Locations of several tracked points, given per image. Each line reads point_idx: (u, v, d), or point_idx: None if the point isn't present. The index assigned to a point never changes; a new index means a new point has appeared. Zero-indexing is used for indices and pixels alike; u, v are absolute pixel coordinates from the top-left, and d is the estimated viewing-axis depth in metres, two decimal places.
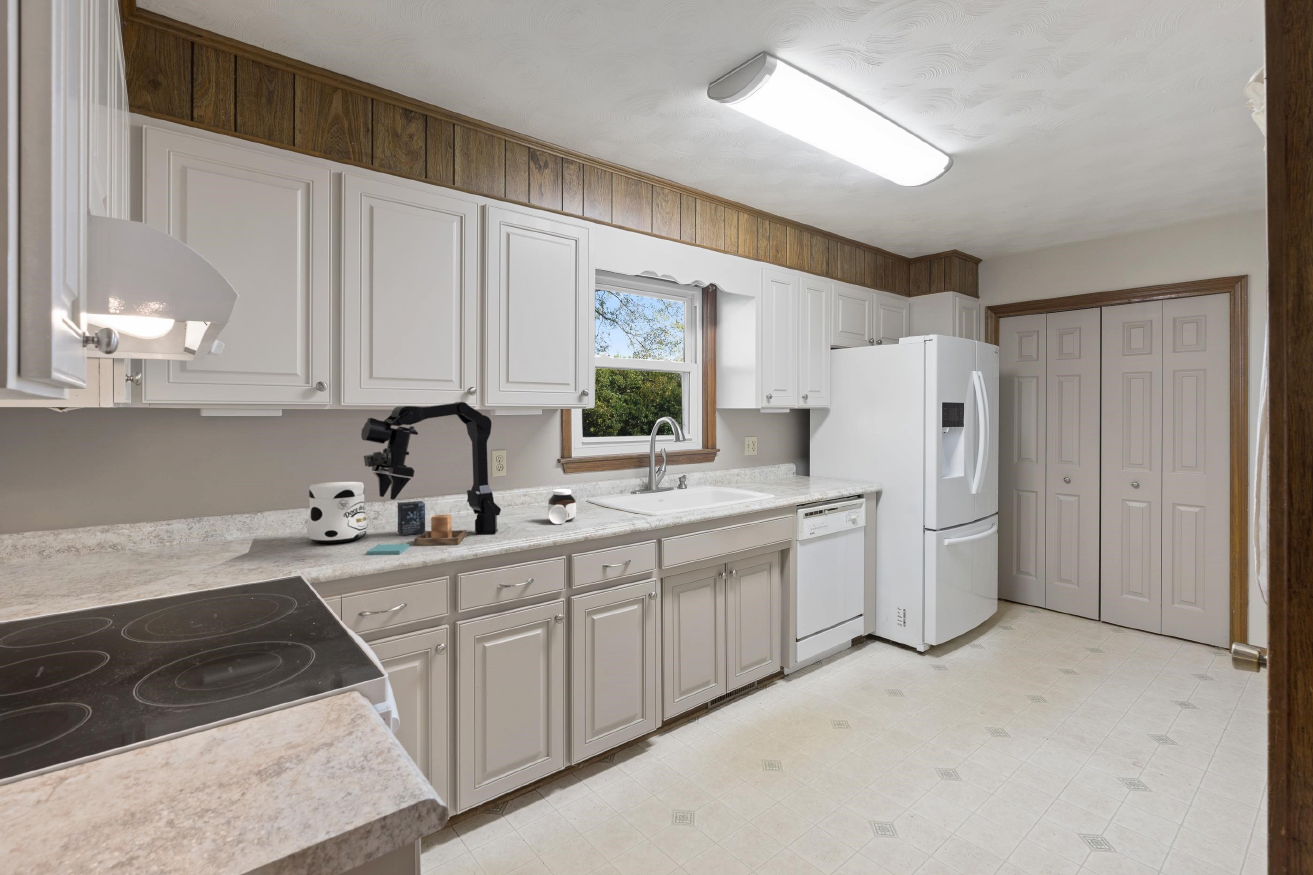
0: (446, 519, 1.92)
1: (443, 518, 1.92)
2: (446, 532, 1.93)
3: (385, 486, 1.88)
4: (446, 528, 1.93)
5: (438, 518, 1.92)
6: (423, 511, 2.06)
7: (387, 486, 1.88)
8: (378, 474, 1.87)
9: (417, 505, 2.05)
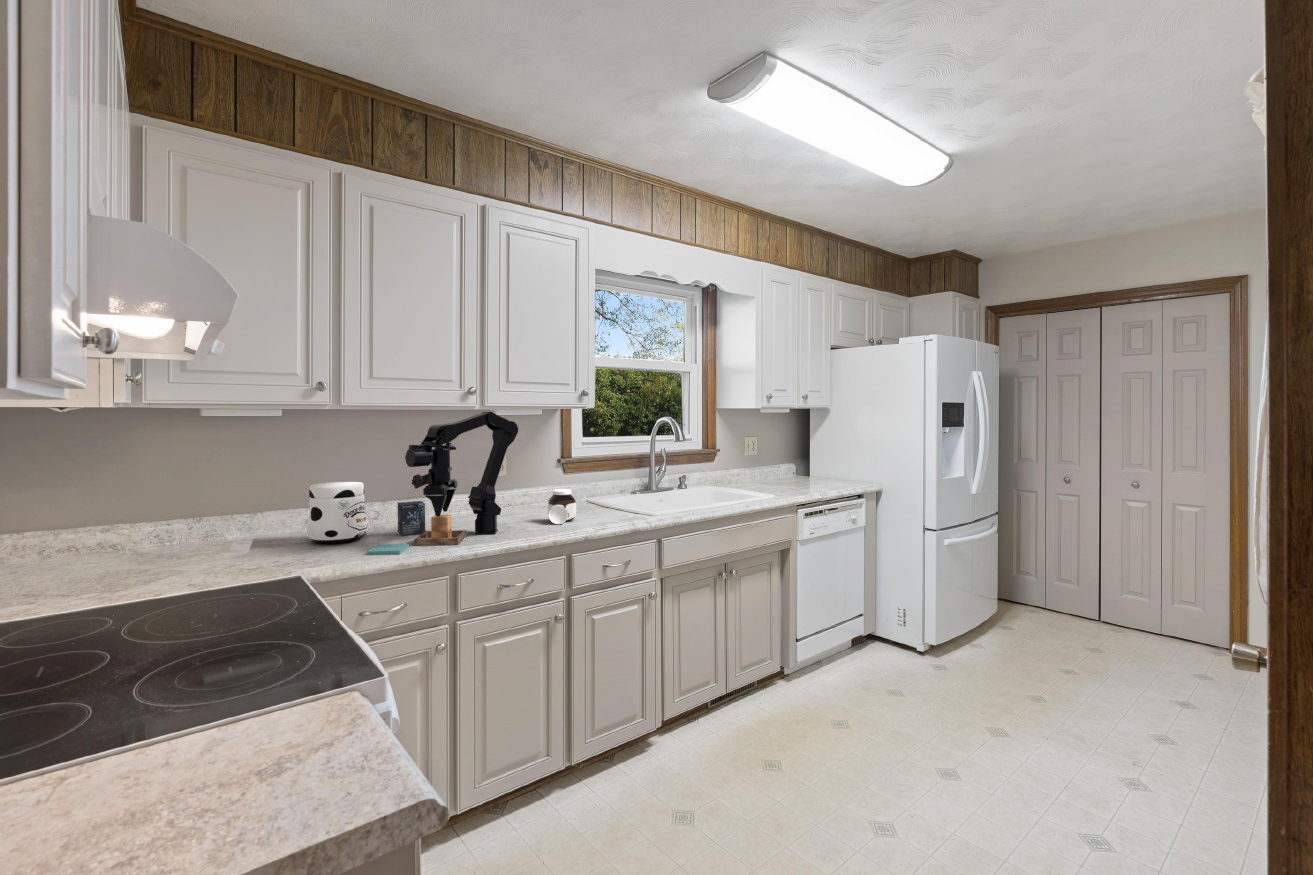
0: (446, 519, 1.92)
1: (443, 518, 1.92)
2: (446, 532, 1.93)
3: (446, 501, 1.99)
4: (446, 528, 1.93)
5: (438, 518, 1.92)
6: (423, 511, 2.06)
7: (448, 501, 1.99)
8: None
9: (417, 505, 2.05)
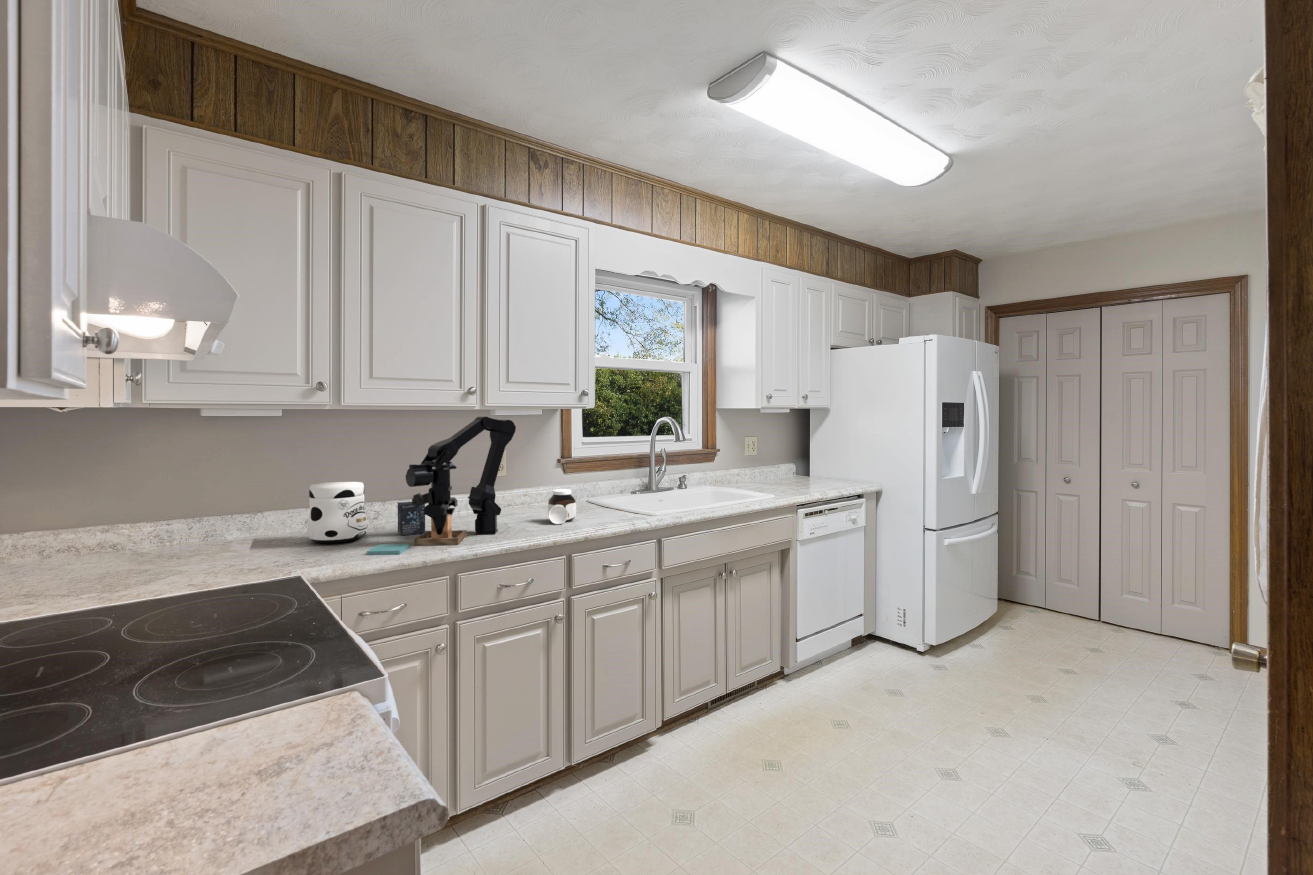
0: (446, 519, 1.93)
1: None
2: (446, 532, 1.93)
3: None
4: (446, 528, 1.93)
5: None
6: None
7: None
8: None
9: None
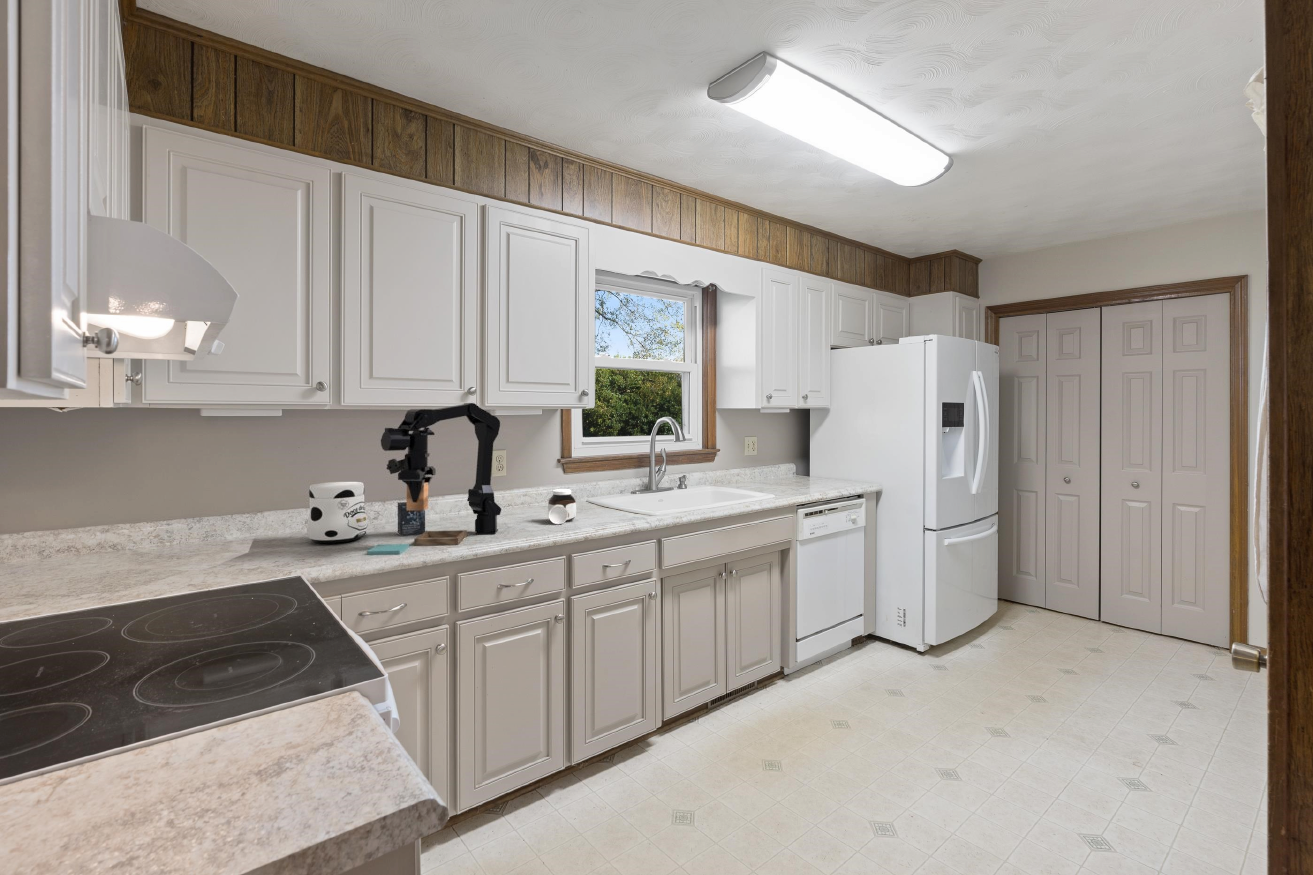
0: (422, 486, 1.86)
1: None
2: (422, 500, 1.86)
3: None
4: (422, 495, 1.86)
5: None
6: (423, 511, 2.06)
7: None
8: None
9: None
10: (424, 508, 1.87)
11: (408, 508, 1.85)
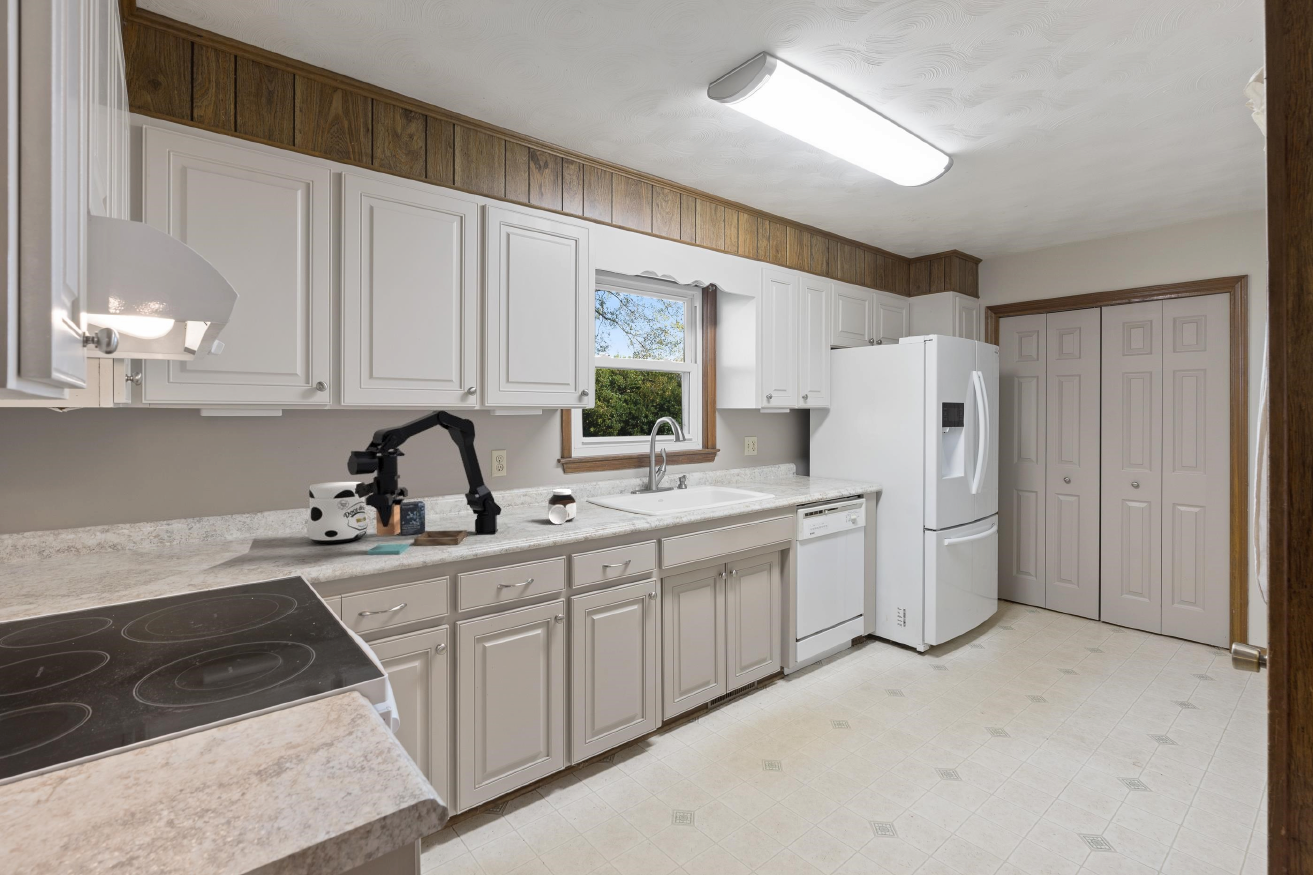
0: None
1: None
2: (393, 524, 1.78)
3: None
4: (393, 519, 1.78)
5: None
6: (423, 511, 2.06)
7: None
8: None
9: (417, 505, 2.05)
10: (396, 532, 1.80)
11: (378, 533, 1.78)
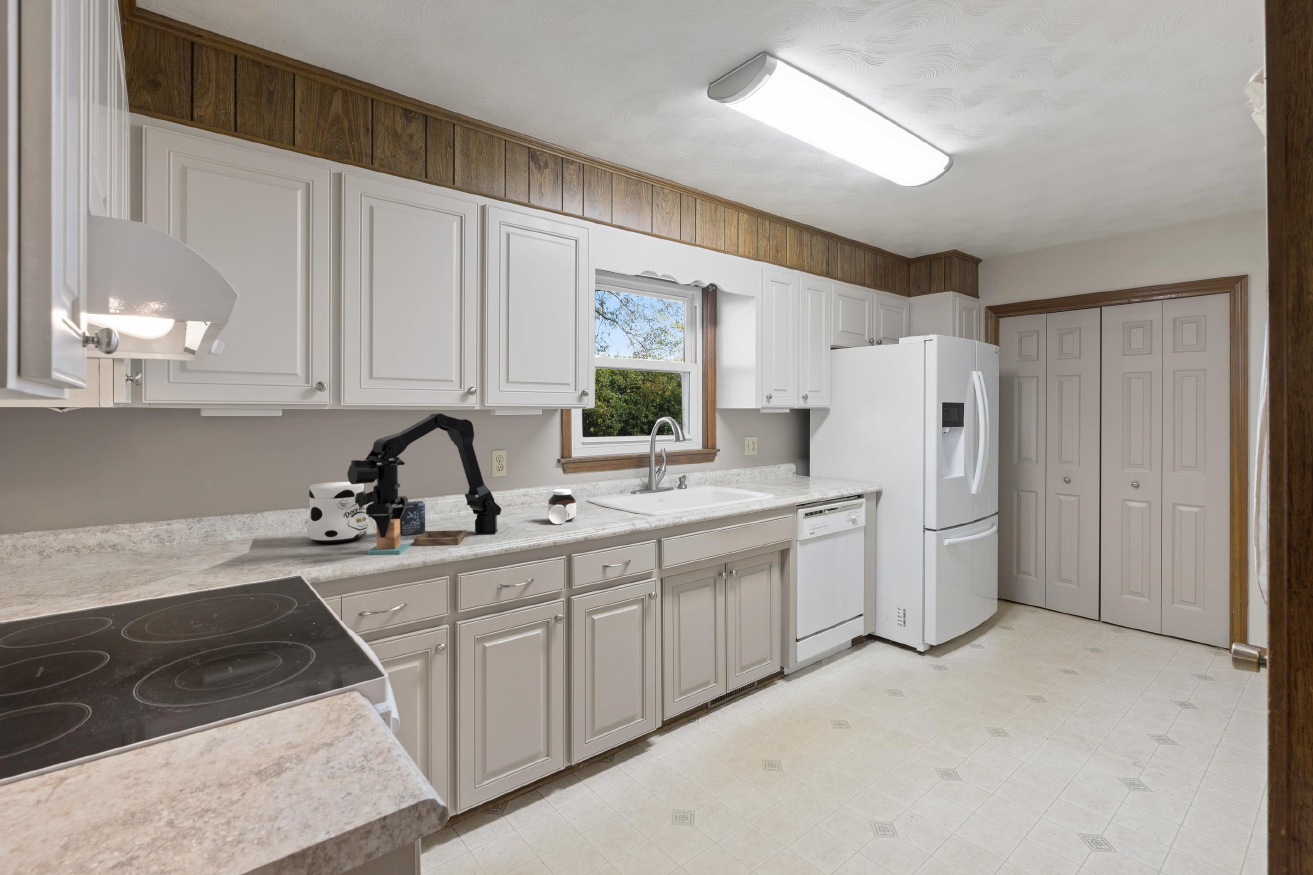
0: (393, 524, 1.78)
1: None
2: (393, 538, 1.79)
3: None
4: (393, 534, 1.79)
5: None
6: (423, 511, 2.06)
7: None
8: None
9: (417, 505, 2.05)
10: (396, 546, 1.80)
11: (378, 547, 1.78)
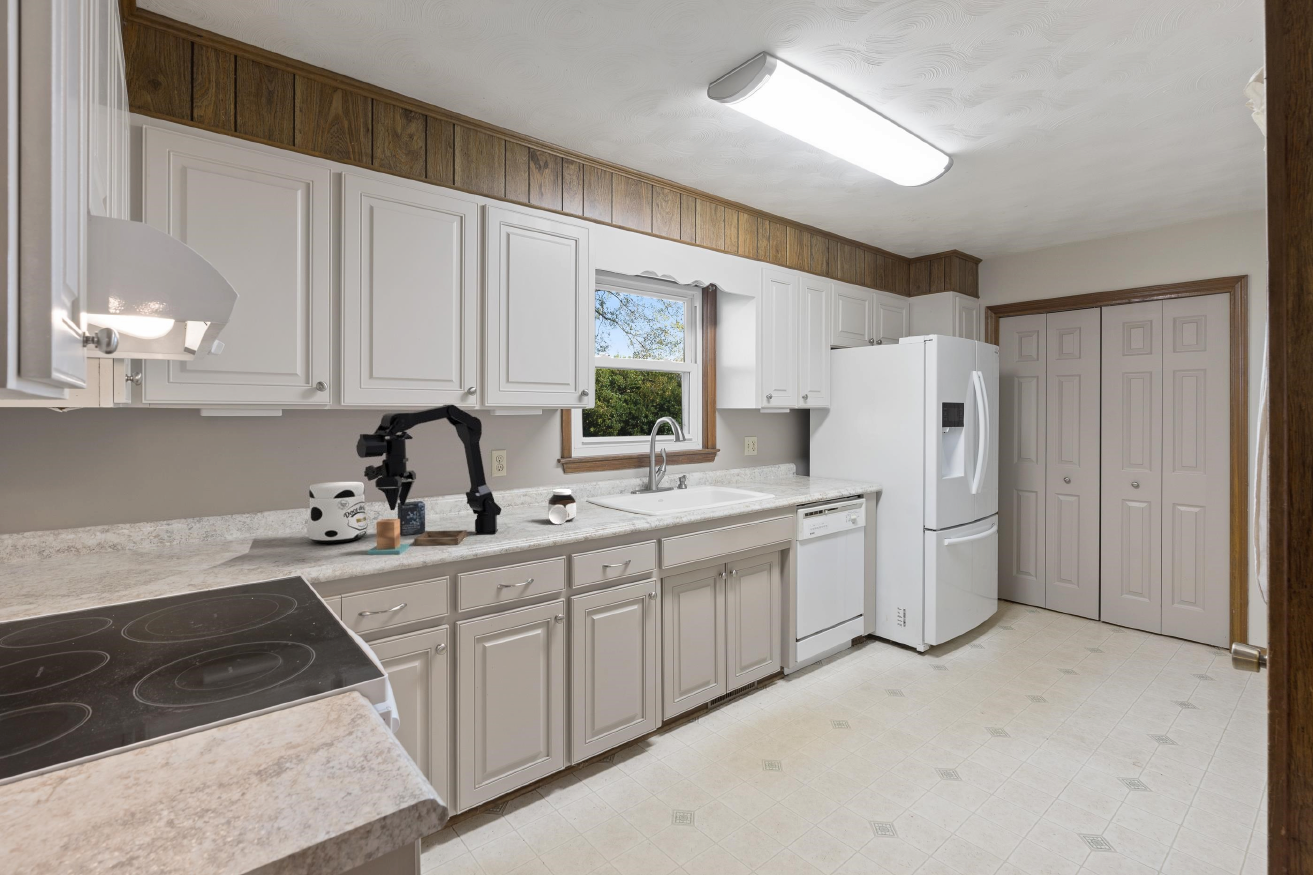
0: (393, 524, 1.78)
1: (389, 523, 1.78)
2: (393, 538, 1.79)
3: (404, 494, 1.88)
4: (393, 534, 1.79)
5: (384, 523, 1.78)
6: (423, 511, 2.06)
7: (406, 494, 1.88)
8: None
9: (417, 505, 2.05)
10: (396, 546, 1.80)
11: (378, 547, 1.78)
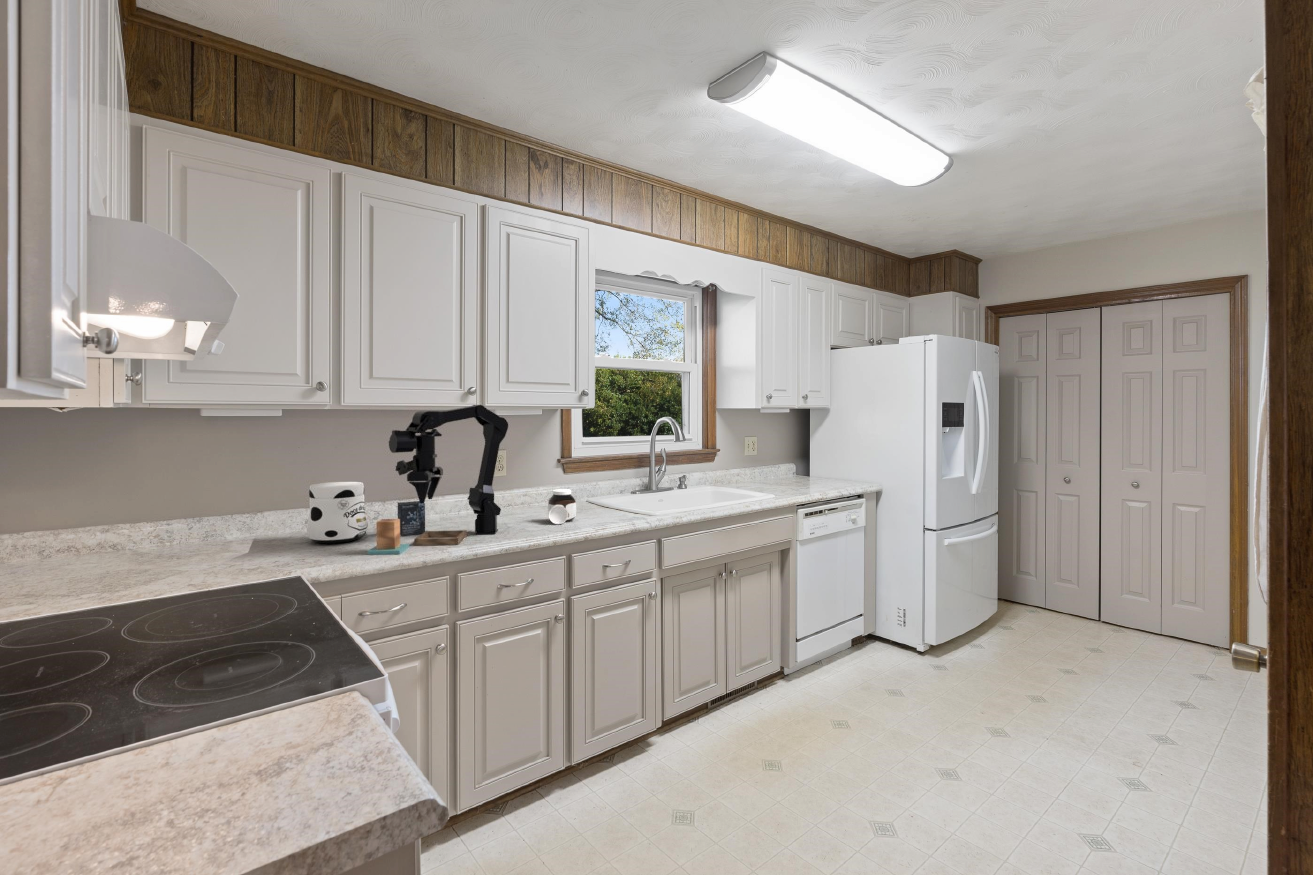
0: (393, 524, 1.78)
1: (389, 523, 1.78)
2: (393, 538, 1.79)
3: (431, 489, 1.97)
4: (393, 534, 1.79)
5: (384, 523, 1.78)
6: (423, 511, 2.06)
7: (433, 488, 1.97)
8: None
9: (417, 505, 2.05)
10: (396, 546, 1.80)
11: (378, 547, 1.78)
